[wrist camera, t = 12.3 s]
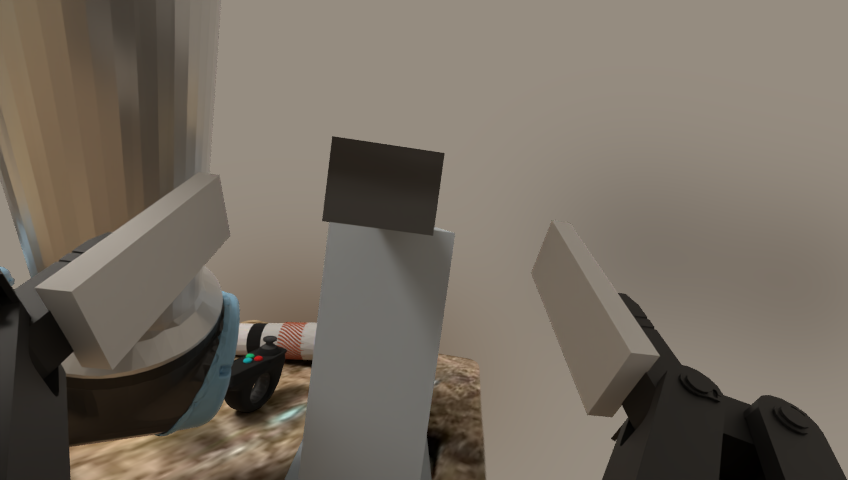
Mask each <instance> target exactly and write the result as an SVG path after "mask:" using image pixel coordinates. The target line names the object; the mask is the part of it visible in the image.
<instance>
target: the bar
mask: <svg viewBox="0 0 848 480" xmlns="http://www.w3.org/2000/svg"><path fill="white" fill-rule="evenodd" d="M443 160H444V153H440V152H433V151H426V150H420V149H413V148H407V147H400V146H393V145H387V144H379V143H373V142H366V141H359V140H353V139H346V138H339V137H332V145H331V153H330V162H329V169H328V178H327V186H326V194H325V202H324V211H323V219H322V221H326V222H333V223H341V224H348V225H356V226H363V227H371V228H378V229H386V230H393V231H401V232H408V233H416V234H423V235H431V236H433V233H434V225H435V218H436V211H437V204H438V195H439V189H440V182H441V175H442V167H443Z"/></svg>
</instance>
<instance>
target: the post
mask: <svg viewBox="0 0 848 480" xmlns="http://www.w3.org/2000/svg"><path fill="white" fill-rule="evenodd" d="M454 237H455V233H453V232H450V231H446V230H443V229H440V228H436V227H434V233H433V236H431V235H423V234H416V233H408V232H401V231H393V230H386V229H378V228H371V227H363V226H356V225H348V224H341V223H333V222H329V229H328V237H327V245H326V254H325V261H324V270H323V279H322V286H321V295H320V303H319V311H318V319H317V328H316V336H315V344H314V352H313V361H312V369H311V377H310V385H309V394H308V402H307V410H306V419H305V427H304V435H303V440H302V442H301V444H300V446H299V449H298V451H297V453H296V455H295V458H294V460H293V462H292V464H291V466H290V469H289V471H288V473H287V475H286V477H285V480H432V479H431V470H430V461H429V452H428V443H427V429H428V422H429V415H430V408H431V401H432V394H433V386H434V379H435V372H436V365H437V358H438V351H439V344H440V337H441V330H442V322H443V316H444V308H445V300H446V294H447V287H448V280H449V273H450V266H451V259H452V252H453V244H454Z"/></svg>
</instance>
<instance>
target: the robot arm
mask: <svg viewBox="0 0 848 480" xmlns="http://www.w3.org/2000/svg"><path fill="white" fill-rule="evenodd" d="M220 8H221V0H0V180H1V184H2V187H3V190H4V193H5V196H6V199H7V202H8V206H9V209H10V212H11V215H12V219H13V222H14V225H15V228H16V231H17V234H18V238H19V241H20V244H21V247H22V250H23V254H24V257H25V260H26V263H27V266H28V269H29V273H30V276H31V279H30V280H28V281H27V282H25V283H23V284H22V285H20V286H19V287H18V288H16V289H13V288H12V287H11V286H12V285H13V284H14V278H12V277H11V274H10V272H9V271H8V270H7V269H6V268H4V267H0V480H70V458H69V447H72V446H79V445H86V444H93V443H100V442H107V441H113V440H120V439H127V438H134V437H141V436H148V435H156V436H166V435H169V434H170V433H171V434H172V433H173V432H175V431H178V430H183V429H188V428H194V427H198V426H201V425H203V424H205V423H207V422H209V421H210V420H211V419H212V418H213V417H214V416H215V415H216V414H217V412H218V411H219V409H220V407H221V405H222V403H223V401H224V398H225V395H226V392H227V389H228V386H229V382H230V377H231V366H232V365H233V362H234V358H235V354H236V348H237V342H238V334H239V320H240V309H239V302H238V299H237V298H236V296H234V295H233V294H230V293H225V292H224V291H221V287H220V284H219V282H218V280H217V278H216V277H215V275H214V274H213V273H212V272H211V271H210V270H209V269H208V268H207V267H205V266H204V265H205V264H206V263H207V262H208V261H209V259H210V258H211V257H212V256H213V255H214V254H215V253H216V251H217V250H218V249H219V248H220V247H221V246H222V245H223V244H224V242H225V241H226V240H227V239H228V238H229V237H230V231H229V225H228V220H227V214H226V209H225V203H224V198H223V192H222V187H221V181H220V176H219V175H215V174H209V172H210V157H211V142H212V127H213V112H214V98H215V97H214V96H215V83H216V67H217V53H218V38H219V22H220ZM531 274H532V277H533V279H534V282H535V284H536V287H537V289H538V292H539V294H540V296H541V299H542V302H543V304H544V307H545V309H546V312H547V314H548V317H549V319H550V322H551V324H552V327H553V330H554V332H555V335H556V337H557V340H558V342H559V345H560V347H561V350H562V352H563V355H564V357H565V360H566V362H567V365H568V367H569V370H570V372H571V375H572V377H573V380H574V382H575V385H576V387H577V390H578V392H579V395H580V398H581V400H582V403H583V405H584V408H585V410H586V413H587V415H594V416H605V417H613V416H614V414H615V413H616V412H617V411H618V409H619V408H620V407H621V405H623V408H624V410H625V412H626V414H627V416H628V419H627V420H626V421H625V422H624V423H623V425H622V426H621V427H620V428H619V429H618V431H617V432H616V433H615V434H614V436H613V437H612V438H611V439H612V440H614V441H616V440H617V441H616V444H615V446H614V449H613V452H612V455H611V457H610V460H609V463H608V465H607V468H606V471H605V473H604V476H603V479H602V480H847V479H846V477H845V475H844V473H843V471H842V469H841V467H840V465H839V463H838V461H837V459H836V457H835V455H834V453H833V451H832V449H831V447H830V445H829V444H828V441H827V439H826V438H825V436H824V434H823V432H822V431H821V430H820V428H819V427H818V425H817V424H816V423H815V422H814V421H813V420H812V419H811V418H810V417H808V416H807V414H806V413H804V412H803V411H802V410H800V409H799V408H797V407H796V406H794V405H792V404H790V403H788V402H786V401H785V400H783V399H780V398H777V397H774V396H770V395H765V396H761V397H760V398H759V399H757V400H756V401H755V402H754V403H753V404H752V405H750V404H747V403H744V402H741V401H738V400H736V399H733V398H730V397H727V396H724V395H723V394H722V393H721V391H720V389H719V388H718V386H717V385H715V384H714V383H713V382H712V381H711V380H710V379H709V378H708V377H706V376H705V375H703V374H702V373H700V372H699V371H697V370H695V369H693V368H690V367H688V366H683V365H681V363H680V362H679V361H678V359H677V358H676V357H675V355H674V354H673V352H672V351H671V350H670V348H669V347H668V345H667V344H666V343H665V341H664V340H663V338H662V337H661V336H660V334H659V333H658V331H657V330H654V326H653V325H652V323H651V322H650V320H648V319H647V316H646V315H645V313H644V312H643V311H642V309H641V308H640V306H639V305H638V304H637V303H635V302H634V301H633V300H632V299H631V298H630V297H628V296H627V295H626V294H622V293H617V291H616V290H615V288H614V287H613V285H612V284H611V283H610V281H609V280H608V278H607V277H606V275H605V274H604V272H603V271H602V269H601V268H600V266H599V265H598V263H597V262H596V260H595V259H594V258H593V256H592V255H591V253H590V251H589V250H588V248H587V247H586V246H585V244H584V243H583V241H582V240H581V238H580V237H579V235H578V234H577V232H576V231H575V229H574V228H573V227H572V225H571V223H569V222H561V221H554V220H552V222H551V224H550V227H549V229H548V232H547V234H546V237H545V239H544V242H543V245H542V247H541V249H540V252H539V254H538V257H537V259H536V262H535V265H534V267H533V269H532V272H531Z"/></svg>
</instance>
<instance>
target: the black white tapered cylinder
mask: <svg viewBox="0 0 848 480" xmlns="http://www.w3.org/2000/svg"><path fill="white" fill-rule="evenodd" d="M316 328H317V323H297V322H295V323H294V322H286V323H268V324H261V323H256V324H239V334H238V342H237V348H236V354H235V355H247V354H248V353H249V352H251V351H254V350H256V349H258V348H259V347H261V346H262V345H264V344H265V343H266V342H264V341H263V338H264V337H265V336H276V337H277V341H276V342H273V343H274V344H275V345H277V346H279V347H283V348H285V349H287V352H286V353H285V359H299V360H313V352H314V344H315V336H316Z"/></svg>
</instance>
